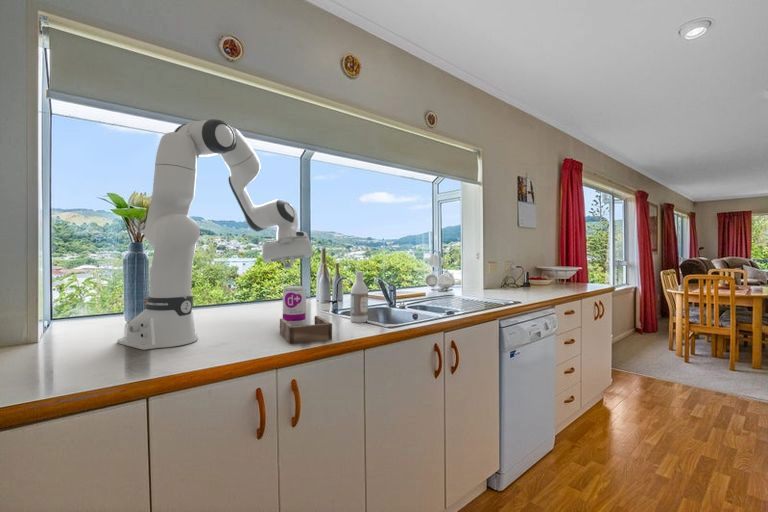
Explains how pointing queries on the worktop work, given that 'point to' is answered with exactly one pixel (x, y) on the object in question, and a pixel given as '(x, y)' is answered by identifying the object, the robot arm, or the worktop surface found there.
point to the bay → (306, 331)
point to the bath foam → (359, 300)
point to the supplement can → (294, 305)
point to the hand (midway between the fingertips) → (288, 268)
